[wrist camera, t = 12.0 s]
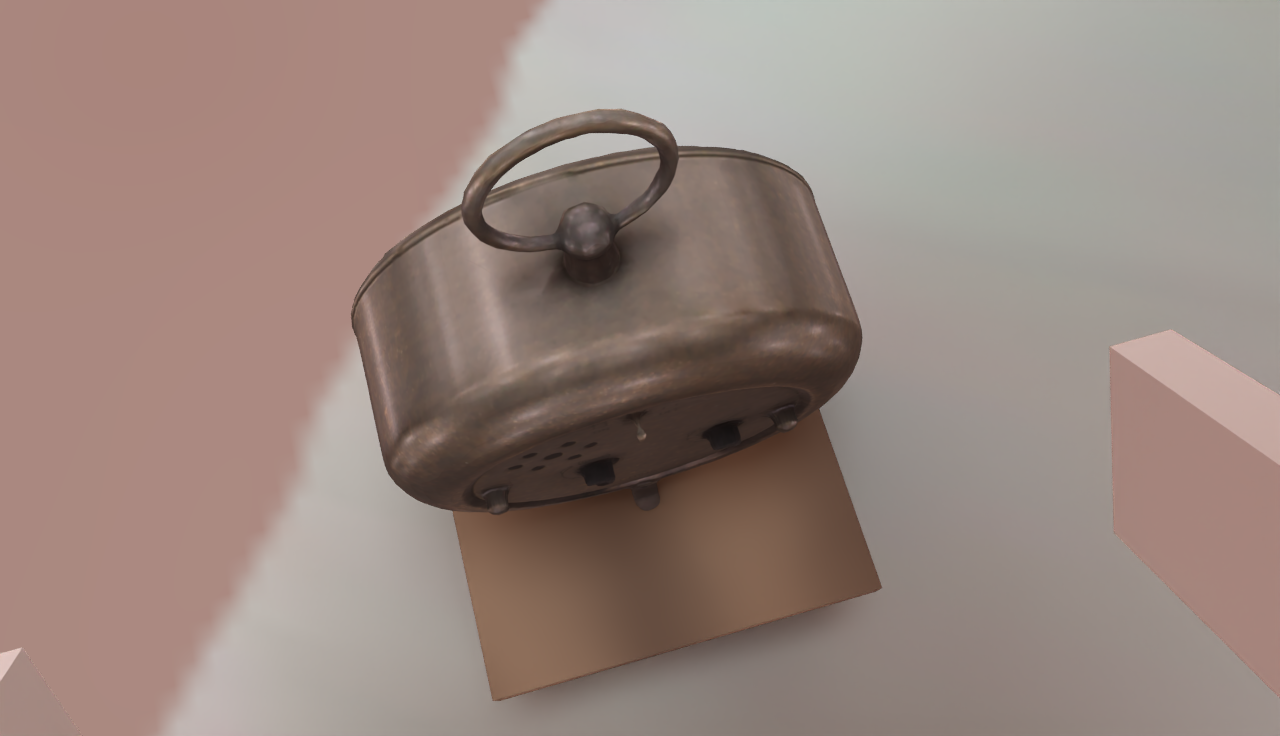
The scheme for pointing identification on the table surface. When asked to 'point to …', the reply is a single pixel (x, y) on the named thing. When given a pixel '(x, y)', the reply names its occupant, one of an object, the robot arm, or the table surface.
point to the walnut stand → (663, 563)
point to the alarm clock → (601, 322)
